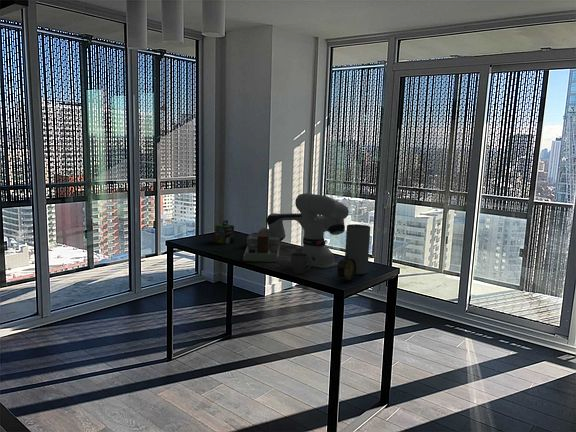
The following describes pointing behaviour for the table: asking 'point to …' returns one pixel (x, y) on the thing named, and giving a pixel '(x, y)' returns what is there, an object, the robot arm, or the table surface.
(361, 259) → the cylinder vase
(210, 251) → the table surface
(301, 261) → the mug
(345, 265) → the alarm clock
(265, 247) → the walnut block
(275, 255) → the box
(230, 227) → the chalk box
